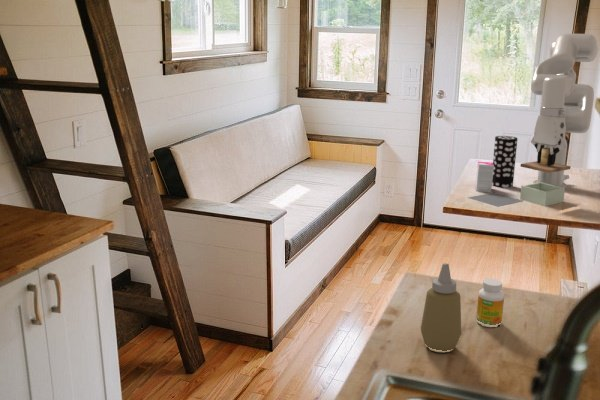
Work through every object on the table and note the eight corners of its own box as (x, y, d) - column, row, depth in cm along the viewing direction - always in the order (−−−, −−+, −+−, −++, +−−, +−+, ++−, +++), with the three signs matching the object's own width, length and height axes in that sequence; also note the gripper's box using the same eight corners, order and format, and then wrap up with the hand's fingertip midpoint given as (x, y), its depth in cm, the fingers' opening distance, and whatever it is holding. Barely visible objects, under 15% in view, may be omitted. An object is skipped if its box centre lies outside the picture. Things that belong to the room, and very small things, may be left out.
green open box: (538, 197, 242) (539, 182, 240) (563, 204, 233) (565, 188, 232) (519, 201, 236) (521, 185, 234) (544, 208, 228) (546, 192, 226)
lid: (541, 163, 239) (543, 144, 237) (570, 169, 229) (572, 149, 227) (520, 166, 232) (522, 147, 231) (549, 172, 223) (551, 153, 221)
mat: (493, 194, 245) (493, 192, 245) (523, 203, 234) (524, 200, 234) (467, 200, 238) (467, 197, 237) (497, 209, 226) (498, 206, 226)
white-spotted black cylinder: (487, 187, 256) (491, 137, 251) (496, 183, 262) (501, 135, 256) (506, 191, 251) (511, 140, 245) (516, 187, 256) (521, 137, 251)
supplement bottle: (477, 327, 139) (480, 285, 137) (474, 316, 144) (478, 276, 142) (502, 329, 139) (507, 287, 136) (499, 318, 144) (503, 278, 141)
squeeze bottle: (415, 338, 134) (420, 257, 130) (452, 337, 135) (459, 256, 130) (425, 358, 127) (431, 272, 122) (465, 356, 127) (472, 271, 122)
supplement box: (491, 194, 246) (494, 165, 243) (475, 193, 247) (477, 164, 244) (490, 190, 251) (492, 161, 248) (474, 189, 252) (477, 161, 249)
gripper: (579, 114, 221) (572, 167, 226) (538, 109, 234) (532, 158, 239) (565, 116, 217) (559, 169, 222) (524, 110, 230) (519, 160, 235)
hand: (545, 163), depth 230 cm, fingers closed on lid, 3 cm apart
